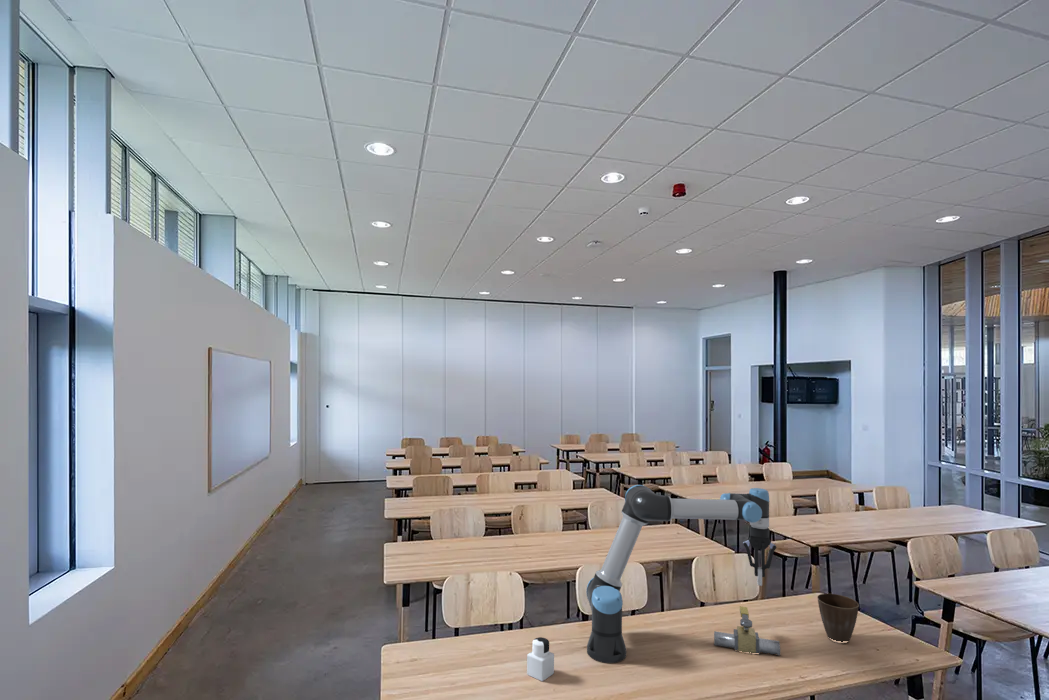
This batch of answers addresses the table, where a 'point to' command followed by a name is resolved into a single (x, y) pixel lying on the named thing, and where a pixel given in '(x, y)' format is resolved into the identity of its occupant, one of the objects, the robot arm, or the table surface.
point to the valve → (746, 641)
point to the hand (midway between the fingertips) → (759, 584)
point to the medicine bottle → (540, 660)
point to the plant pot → (838, 615)
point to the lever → (745, 617)
